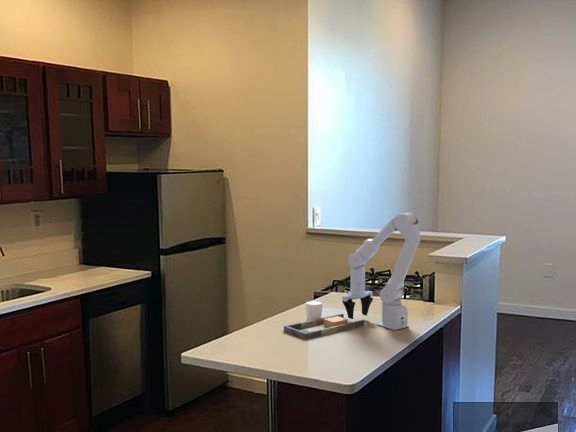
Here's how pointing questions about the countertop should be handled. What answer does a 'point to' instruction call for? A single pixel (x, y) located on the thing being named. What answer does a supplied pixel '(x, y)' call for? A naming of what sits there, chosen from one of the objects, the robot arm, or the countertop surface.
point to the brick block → (335, 321)
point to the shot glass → (313, 310)
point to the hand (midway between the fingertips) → (357, 316)
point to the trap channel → (297, 331)
